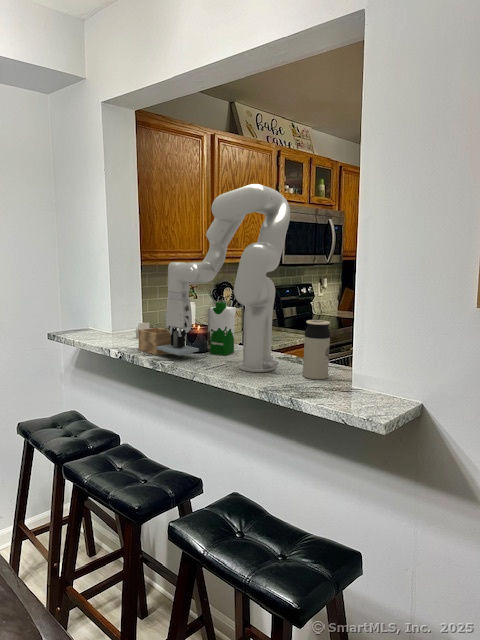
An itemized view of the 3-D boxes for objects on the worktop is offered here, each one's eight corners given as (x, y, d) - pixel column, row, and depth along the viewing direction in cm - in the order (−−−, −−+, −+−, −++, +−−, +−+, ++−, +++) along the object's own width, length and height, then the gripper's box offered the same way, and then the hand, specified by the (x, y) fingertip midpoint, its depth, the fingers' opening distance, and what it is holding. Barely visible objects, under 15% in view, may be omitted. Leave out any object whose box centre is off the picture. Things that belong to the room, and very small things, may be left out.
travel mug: (298, 376, 152) (300, 321, 149) (311, 372, 158) (313, 319, 155) (319, 381, 146) (322, 324, 144) (332, 376, 152) (335, 321, 150)
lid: (198, 353, 173) (199, 332, 172) (178, 356, 166) (178, 335, 165) (177, 347, 182) (177, 327, 181) (156, 351, 175) (156, 330, 174)
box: (175, 351, 184) (176, 331, 183) (157, 355, 177) (157, 334, 176) (157, 347, 192) (157, 327, 191) (138, 350, 186) (138, 329, 184)
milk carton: (206, 353, 182) (207, 302, 179) (217, 349, 190) (218, 300, 187) (227, 356, 178) (228, 303, 175) (237, 352, 186) (238, 301, 183)
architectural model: (134, 339, 211) (134, 322, 210) (147, 337, 216) (147, 321, 215) (138, 340, 208) (138, 323, 207) (151, 338, 213) (151, 322, 212)
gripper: (201, 297, 168) (200, 348, 171) (172, 294, 180) (171, 341, 182) (184, 298, 163) (184, 351, 166) (156, 294, 174) (156, 343, 177)
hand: (177, 345), depth 174 cm, fingers closed on lid, 3 cm apart
